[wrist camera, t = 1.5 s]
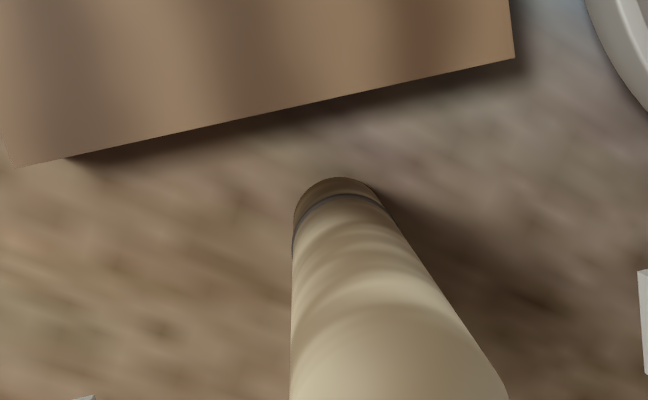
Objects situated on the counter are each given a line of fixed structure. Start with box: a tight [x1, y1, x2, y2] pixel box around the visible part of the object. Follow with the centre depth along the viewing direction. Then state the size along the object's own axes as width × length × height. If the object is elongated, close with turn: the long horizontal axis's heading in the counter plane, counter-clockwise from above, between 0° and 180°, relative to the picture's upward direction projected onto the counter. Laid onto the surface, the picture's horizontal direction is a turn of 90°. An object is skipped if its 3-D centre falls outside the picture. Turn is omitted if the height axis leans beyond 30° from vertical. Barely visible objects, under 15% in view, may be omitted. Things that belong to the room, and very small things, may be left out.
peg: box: [290, 177, 509, 400], centre depth 17 cm, size 4×4×15 cm
